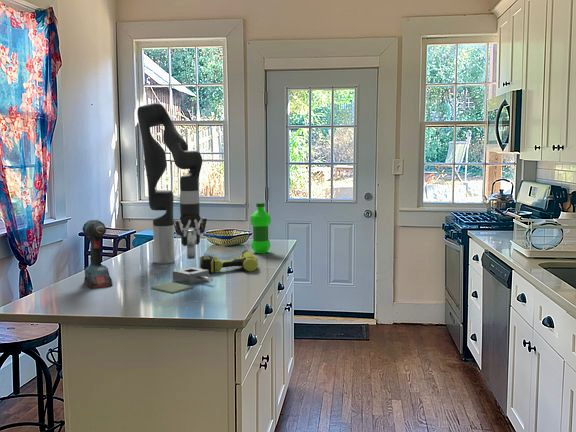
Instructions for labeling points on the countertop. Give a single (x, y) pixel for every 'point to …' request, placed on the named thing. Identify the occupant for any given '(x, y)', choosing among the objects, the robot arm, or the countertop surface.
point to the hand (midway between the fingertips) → (190, 244)
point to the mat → (172, 287)
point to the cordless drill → (229, 262)
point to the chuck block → (191, 275)
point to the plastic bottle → (260, 229)
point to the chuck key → (191, 243)
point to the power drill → (96, 256)
